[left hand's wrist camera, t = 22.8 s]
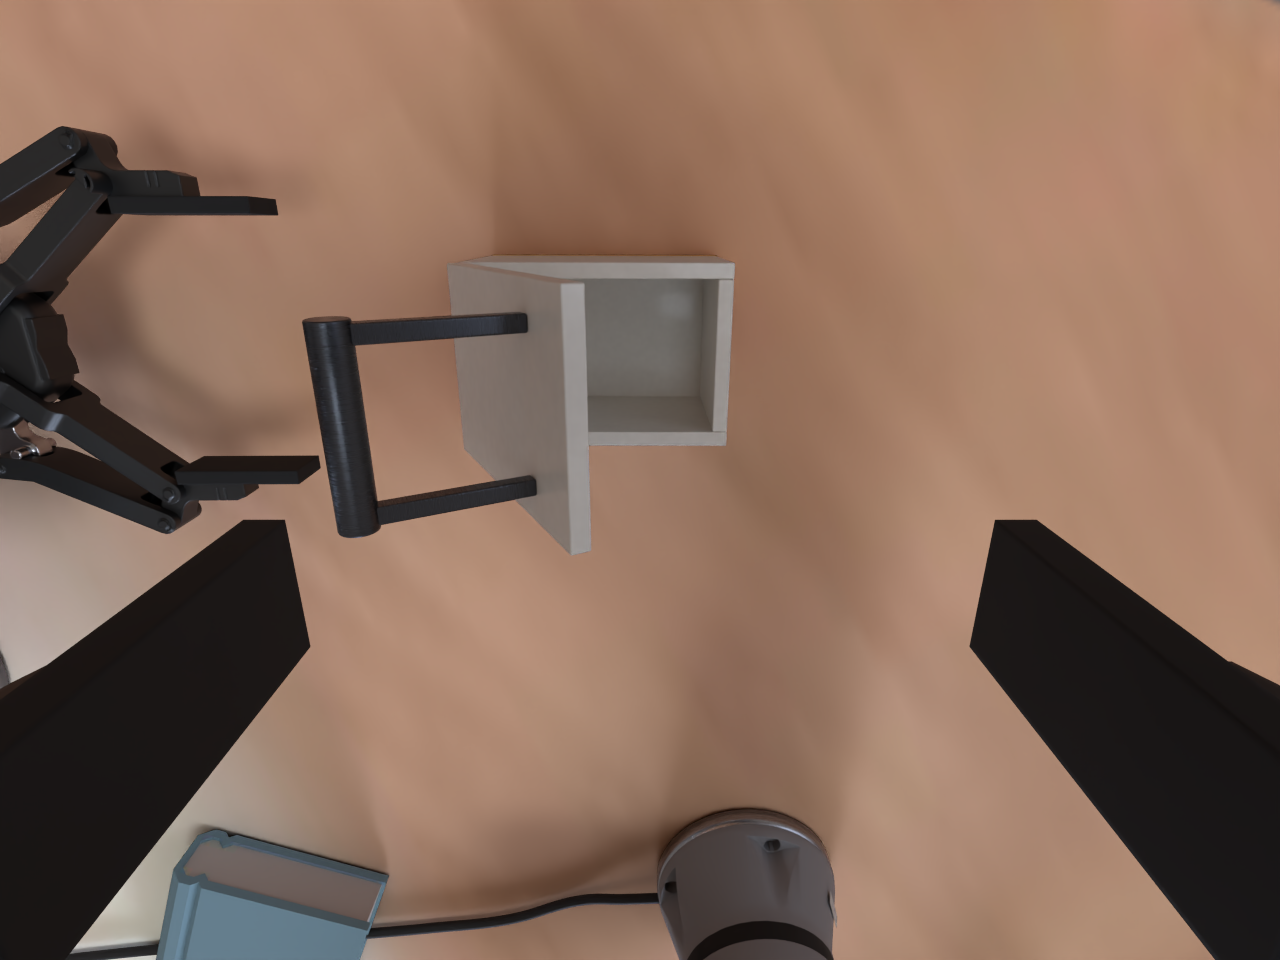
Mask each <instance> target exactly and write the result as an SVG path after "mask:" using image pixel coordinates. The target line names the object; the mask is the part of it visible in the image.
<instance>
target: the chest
mask: <svg viewBox="0 0 1280 960" xmlns="http://www.w3.org/2000/svg"><path fill="white" fill-rule="evenodd" d="M462 262H463V263H469V264H475V265H481V266H487V267H493V268H499V269H505V270H511V271H518V272H524V273H530V274H536V275H542V276H548V277H554V278H560V279H566V280H572V281H578V282H583V283H584V286H585V326H586V365H587V404H588V443H589V446H726V438H727V432H726V431H727V416H728V395H729V375H730V355H731V335H732V314H733V294H734V280H733V279H734V274H735V263H733V262H731V261H728V260H725V259H723V258H720V257H718V256H716V255H491V256H487V257H482V258H477V259H472V260H467V261H462ZM458 263H459V262H458Z"/></svg>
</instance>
